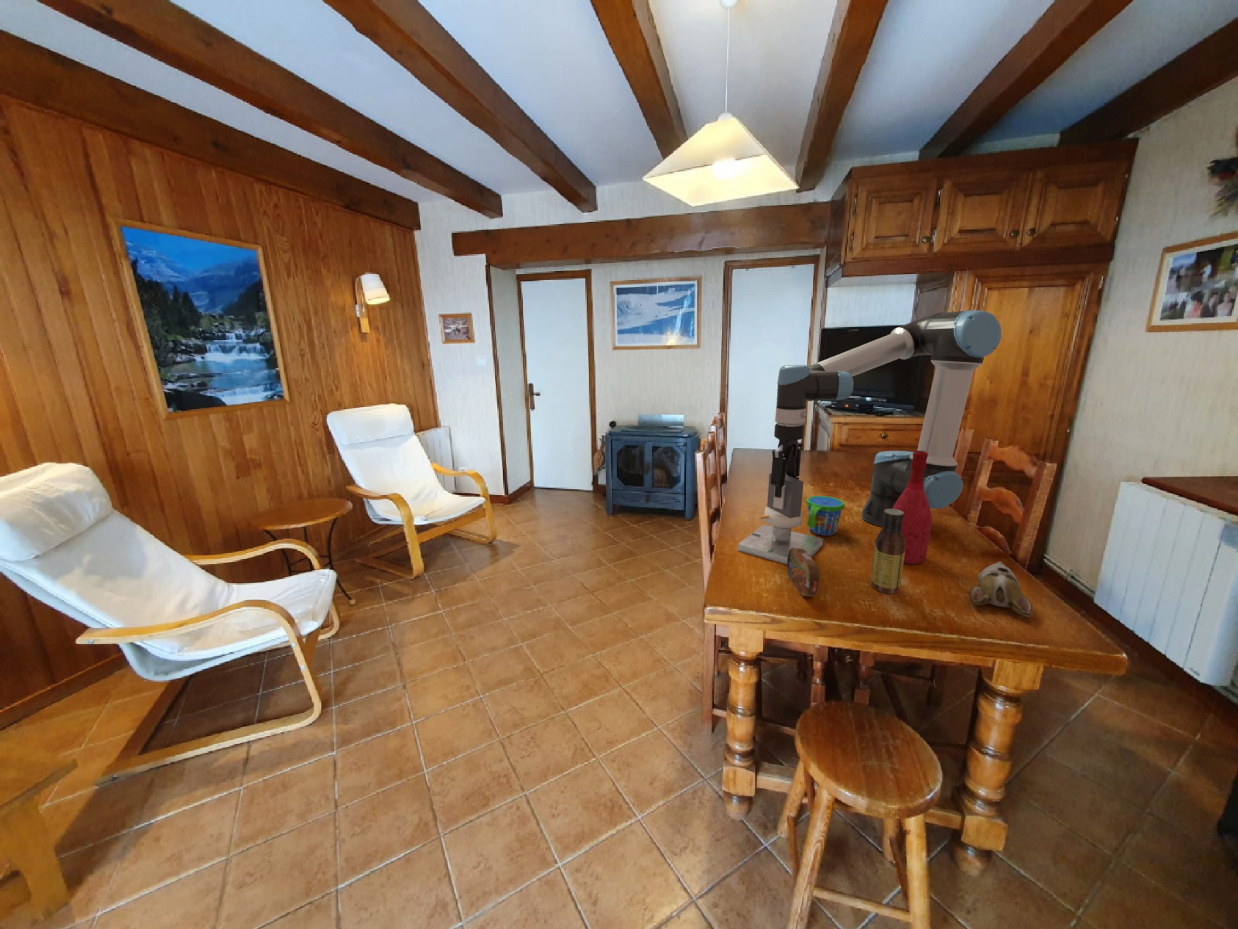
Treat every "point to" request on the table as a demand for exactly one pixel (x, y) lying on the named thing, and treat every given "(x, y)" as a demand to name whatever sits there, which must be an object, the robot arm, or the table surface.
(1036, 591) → the table surface
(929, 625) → the table surface
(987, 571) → the ceramic sculpture
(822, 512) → the snack cup
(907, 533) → the wine bottle
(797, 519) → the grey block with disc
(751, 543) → the base
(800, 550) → the tin
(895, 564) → the sauce bottle
